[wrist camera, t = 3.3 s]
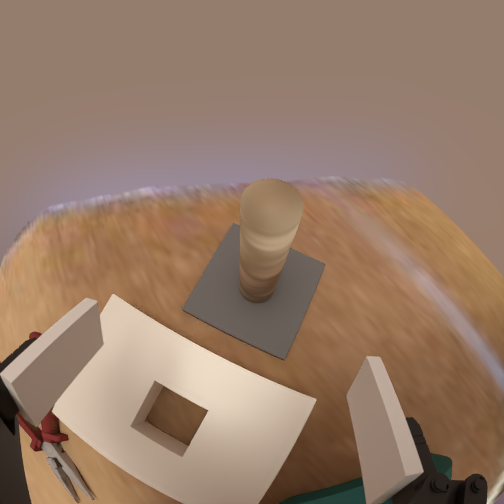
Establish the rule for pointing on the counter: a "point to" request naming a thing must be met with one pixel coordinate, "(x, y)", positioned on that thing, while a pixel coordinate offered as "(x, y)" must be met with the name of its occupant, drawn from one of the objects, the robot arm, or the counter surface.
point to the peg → (266, 235)
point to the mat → (254, 314)
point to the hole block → (197, 391)
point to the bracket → (357, 488)
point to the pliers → (54, 448)
